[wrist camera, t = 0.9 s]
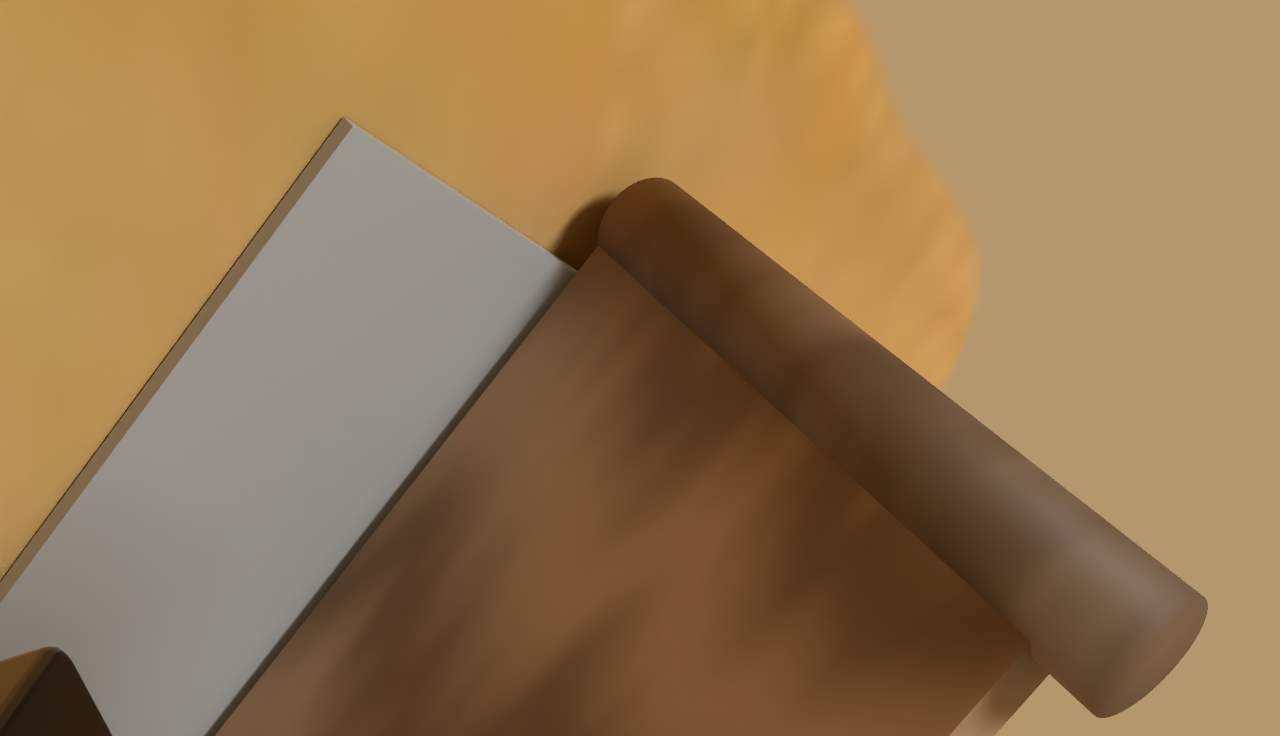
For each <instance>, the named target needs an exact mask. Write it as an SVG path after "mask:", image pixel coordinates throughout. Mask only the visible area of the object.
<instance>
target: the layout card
mask: <svg viewBox="0 0 1280 736" xmlns="http://www.w3.org/2000/svg"><path fill="white" fill-rule="evenodd" d="M577 272H578V270H576V269H574V268H573V267H571V266H570V265H568V264H567V263H565V262H564V261H562V260H561V259H559V258H558V257H556V256H555V255H553V254H552V253H550V252H549V251H547V250H546V249H544V248H543V247H541V246H540V245H538V244H537V243H535V242H533V241H532V240H530V239H529V238H527V237H526V236H524V235H523V234H521V233H520V232H518V231H517V230H515V229H514V228H512V227H511V226H509V225H508V224H506V223H505V222H503V221H502V220H500V219H499V218H497V217H496V216H494V215H492V214H491V213H489V212H488V211H486V210H485V209H483V208H482V207H480V206H479V205H477V204H476V203H474V202H473V201H471V200H470V199H468V198H467V197H465V196H464V195H462V194H461V193H459V192H458V191H456V190H455V189H453V188H451V187H450V186H448V185H447V184H445V183H444V182H442V181H441V180H439V179H438V178H436V177H435V176H433V175H432V174H430V173H429V172H427V171H426V170H424V169H423V168H421V167H420V166H418V165H417V164H415V163H414V162H412V161H410V160H409V159H407V158H406V157H404V156H403V155H401V154H400V153H398V152H397V151H395V150H394V149H392V148H391V147H389V146H388V145H386V144H385V143H383V142H382V141H380V140H379V139H377V138H376V137H374V136H373V135H371V134H369V133H368V132H366V131H365V130H363V129H362V128H360V127H359V126H357V125H356V124H354V123H353V122H351V121H350V120H348V119H347V118H345V117H343V118H342V120H341V121H340V122H339V124H338V125H337V126H336V128H335V129H334V130H333V132H332V133H331V134H330V136H329V137H328V139H327V140H326V141H325V143H324V144H323V145H322V147H321V148H320V149H319V151H318V152H317V153H316V155H315V156H314V158H313V159H312V160H311V162H310V163H309V164H308V166H307V167H306V168H305V170H304V171H303V172H302V174H301V175H300V177H299V178H298V179H297V181H296V182H295V183H294V185H293V186H292V187H291V189H290V190H289V191H288V193H287V194H286V196H285V197H284V198H283V200H282V201H281V202H280V204H279V205H278V206H277V208H276V209H275V210H274V212H273V213H272V215H271V216H270V217H269V219H268V220H267V221H266V223H265V224H264V225H263V227H262V228H261V229H260V231H259V232H258V233H257V235H256V236H255V238H254V239H253V240H252V242H251V243H250V244H249V246H248V247H247V248H246V250H245V251H244V252H243V254H242V255H241V257H240V258H239V259H238V261H237V262H236V263H235V265H234V266H233V267H232V269H231V270H230V271H229V273H228V274H227V276H226V277H225V278H224V280H223V281H222V282H221V284H220V285H219V286H218V288H217V289H216V290H215V292H214V293H213V295H212V296H211V297H210V299H209V300H208V301H207V303H206V304H205V305H204V307H203V308H202V309H201V311H200V312H199V314H198V315H197V316H196V318H195V319H194V320H193V322H192V323H191V324H190V326H189V327H188V328H187V330H186V331H185V333H184V334H183V335H182V337H181V338H180V339H179V341H178V342H177V343H176V345H175V346H174V347H173V349H172V350H171V352H170V353H169V354H168V356H167V357H166V358H165V360H164V361H163V362H162V364H161V365H160V366H159V368H158V369H157V370H156V372H155V373H154V375H153V376H152V377H151V379H150V380H149V381H148V383H147V384H146V385H145V387H144V388H143V389H142V391H141V392H140V394H139V395H138V396H137V398H136V399H135V400H134V402H133V403H132V404H131V406H130V407H129V408H128V410H127V411H126V413H125V414H124V415H123V417H122V418H121V419H120V421H119V422H118V423H117V425H116V426H115V427H114V429H113V430H112V432H111V433H110V434H109V436H108V437H107V438H106V440H105V441H104V442H103V444H102V445H101V446H100V448H99V449H98V451H97V452H96V453H95V455H94V456H93V457H92V459H91V460H90V461H89V463H88V464H87V465H86V467H85V468H84V470H83V471H82V472H81V474H80V475H79V476H78V478H77V479H76V480H75V482H74V483H73V484H72V486H71V487H70V489H69V490H68V491H67V493H66V494H65V495H64V497H63V498H62V499H61V501H60V502H59V503H58V505H57V506H56V507H55V509H54V510H53V512H52V513H51V514H50V516H49V517H48V518H47V520H46V521H45V522H44V524H43V525H42V526H41V528H40V529H39V531H38V532H37V533H36V535H35V536H34V537H33V539H32V540H31V541H30V543H29V544H28V545H27V547H26V548H25V550H24V551H23V552H22V554H21V555H20V556H19V558H18V559H17V560H16V562H15V563H14V564H13V566H12V567H11V569H10V570H9V571H8V573H7V574H6V575H5V577H4V578H3V579H2V581H1V582H0V661H1V660H4V659H7V658H11V657H14V656H17V655H20V654H24V653H27V652H30V651H33V650H37V649H40V648H43V647H51V646H53V647H57V648H59V649H61V650H63V651H64V652H65V653H66V654H67V655H68V656H69V658H70V659H71V660H72V662H73V663H74V665H75V667H76V669H77V671H78V673H79V674H80V676H81V678H82V680H83V682H84V684H85V686H86V687H87V689H88V691H89V693H90V695H91V697H92V699H93V700H94V702H95V704H96V706H97V708H98V710H99V712H100V713H101V715H102V717H103V719H104V721H105V723H106V725H107V726H108V728H109V730H110V732H111V734H112V736H215V735H216V734H217V732H218V731H219V730H220V729H221V727H222V726H223V725H224V723H225V722H226V721H227V720H228V718H229V717H230V716H231V714H232V713H233V712H234V711H235V709H236V708H237V707H238V706H239V704H240V703H241V702H242V700H243V699H244V698H245V697H246V695H247V694H248V693H249V691H250V690H251V689H252V688H253V686H254V685H255V684H256V683H257V681H258V680H259V679H260V677H261V676H262V675H263V674H264V672H265V671H266V670H267V668H268V667H269V666H270V665H271V663H272V662H273V661H274V660H275V658H276V657H277V656H278V654H279V653H280V652H281V651H282V649H283V648H284V647H285V645H286V644H287V643H288V642H289V640H290V639H291V638H292V636H293V635H294V634H295V633H296V631H297V630H298V629H299V628H300V626H301V625H302V624H303V622H304V621H305V620H306V619H307V617H308V616H309V615H310V613H311V612H312V611H313V610H314V608H315V607H316V606H317V605H318V603H319V602H320V601H321V599H322V598H323V597H324V596H325V594H326V593H327V592H328V590H329V589H330V588H331V587H332V585H333V584H334V583H335V582H336V580H337V579H338V578H339V576H340V575H341V574H342V573H343V571H344V570H345V569H346V567H347V566H348V565H349V564H350V562H351V561H352V560H353V559H354V557H355V556H356V555H357V553H358V552H359V551H360V550H361V548H362V547H363V546H364V544H365V543H366V542H367V541H368V539H369V538H370V537H371V535H372V534H373V533H374V532H375V530H376V529H377V528H378V527H379V525H380V524H381V523H382V521H383V520H384V519H385V518H386V516H387V515H388V514H389V512H390V511H391V510H392V509H393V507H394V506H395V505H396V504H397V502H398V501H399V500H400V498H401V497H402V496H403V495H404V493H405V492H406V491H407V489H408V488H409V487H410V486H411V484H412V483H413V482H414V481H415V479H416V478H417V477H418V475H419V474H420V473H421V472H422V470H423V469H424V468H425V466H426V465H427V464H428V463H429V461H430V460H431V459H432V458H433V456H434V455H435V454H436V452H437V451H438V450H439V449H440V447H441V446H442V445H443V443H444V442H445V441H446V440H447V438H448V437H449V436H450V434H451V433H452V432H453V431H454V429H455V428H456V427H457V426H458V424H459V423H460V422H461V420H462V419H463V418H464V417H465V415H466V414H467V413H468V411H469V410H470V409H471V408H472V406H473V405H474V404H475V403H476V401H477V400H478V399H479V397H480V396H481V395H482V394H483V392H484V391H485V390H486V388H487V387H488V386H489V385H490V383H491V382H492V381H493V380H494V378H495V377H496V376H497V374H498V373H499V372H500V371H501V369H502V368H503V367H504V365H505V364H506V363H507V362H508V360H509V359H510V358H511V356H512V355H513V354H514V353H515V351H516V350H517V349H518V348H519V346H520V345H521V344H522V342H523V341H524V340H525V339H526V337H527V336H528V335H529V333H530V332H531V331H532V330H533V328H534V327H535V326H536V325H537V323H538V322H539V321H540V319H541V318H542V317H543V316H544V314H545V313H546V312H547V310H548V309H549V308H550V307H551V305H552V304H553V303H554V302H555V300H556V299H557V298H558V296H559V295H560V294H561V293H562V291H563V290H564V289H565V287H566V286H567V285H568V284H569V282H570V281H571V280H572V279H573V277H574V276H575V275H576V273H577Z"/></svg>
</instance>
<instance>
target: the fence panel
mask: <svg viewBox="0 0 1280 736" xmlns="http://www.w3.org/2000/svg"><path fill="white" fill-rule="evenodd" d="M1207 609H1208V603H1207V600H1206V599H1205V597H1203V596H1202V595H1201V594H1200V593H1198V592H1197V591H1196V590H1195V589H1193V588H1192V587H1191V586H1189V585H1188V584H1187V583H1185V582H1184V581H1183V580H1182V579H1180V578H1179V577H1178V576H1176V575H1175V574H1174V573H1173V572H1171V571H1170V570H1169V569H1167V568H1166V567H1165V566H1164V565H1163V564H1161V563H1160V562H1159V561H1157V560H1156V559H1155V558H1154V557H1152V556H1151V555H1150V554H1148V553H1147V552H1146V551H1145V550H1143V549H1142V548H1141V547H1139V546H1138V545H1137V544H1135V543H1134V542H1133V541H1132V540H1130V539H1129V538H1128V537H1127V536H1125V535H1124V534H1123V533H1121V532H1120V531H1119V530H1118V529H1116V528H1115V527H1114V526H1112V525H1111V524H1110V523H1109V522H1107V521H1106V520H1105V519H1104V518H1102V517H1101V516H1100V515H1099V514H1097V513H1096V512H1095V511H1093V510H1092V509H1091V508H1089V507H1088V506H1087V505H1086V504H1084V503H1083V502H1082V501H1081V500H1079V499H1078V498H1077V497H1075V496H1074V495H1073V494H1072V493H1070V492H1069V491H1068V490H1066V489H1065V488H1064V487H1063V486H1061V485H1060V484H1059V483H1057V482H1056V481H1055V480H1054V479H1052V478H1051V477H1050V476H1049V475H1047V474H1046V473H1045V472H1043V471H1042V470H1041V469H1039V468H1038V467H1037V466H1036V465H1035V464H1033V463H1032V462H1030V461H1029V460H1028V459H1027V458H1026V457H1024V456H1023V455H1022V454H1020V453H1019V452H1018V451H1017V450H1015V449H1014V448H1013V447H1011V446H1010V445H1009V444H1007V443H1006V442H1005V441H1004V440H1002V439H1001V438H1000V437H999V436H997V435H996V434H995V433H993V432H992V431H991V430H990V429H988V428H987V427H986V426H985V425H983V424H982V423H981V422H979V421H978V420H977V419H976V418H974V417H973V416H972V415H970V414H969V413H968V412H966V411H965V410H964V409H963V408H962V407H960V406H959V405H958V404H956V403H955V402H954V401H953V400H951V399H950V398H949V397H947V396H946V395H945V394H944V393H942V392H941V391H940V390H939V389H937V388H936V387H935V386H933V385H932V384H931V383H930V382H928V381H927V380H926V379H924V378H923V377H922V376H921V375H919V374H918V373H917V372H915V371H914V370H913V369H912V368H910V367H909V366H908V365H907V364H905V363H904V362H903V361H901V360H900V359H899V358H898V357H896V356H895V355H894V354H892V353H891V352H890V351H889V350H887V349H886V348H885V347H883V346H882V345H881V344H880V343H878V342H877V341H876V340H875V339H873V338H872V337H871V336H869V335H868V334H867V333H866V332H864V331H863V330H862V329H860V328H859V327H858V326H857V325H855V324H854V323H853V322H851V321H850V320H849V319H848V318H846V317H845V316H844V315H843V314H841V313H840V312H839V311H837V310H836V309H835V308H834V307H832V306H831V305H830V304H828V303H827V302H826V301H825V300H823V299H822V298H821V297H819V296H818V295H817V294H816V293H814V292H813V291H812V290H811V289H809V288H808V287H807V286H805V285H804V284H803V283H802V282H800V281H799V280H798V279H796V278H795V277H794V276H793V275H791V274H790V273H789V272H787V271H786V270H785V269H784V268H782V267H781V266H780V265H778V264H777V263H776V262H775V261H773V260H772V259H771V258H770V257H768V256H767V255H766V254H764V253H763V252H762V251H761V250H759V249H758V248H757V247H755V246H754V245H753V244H752V243H750V242H749V241H748V240H746V239H745V238H744V237H743V236H741V235H740V234H739V233H738V232H736V231H735V230H734V229H732V228H731V227H730V226H729V225H727V224H726V223H725V222H723V221H722V220H721V219H720V218H718V217H717V216H716V215H714V214H713V213H712V212H711V211H709V210H708V209H707V208H706V207H704V206H703V205H702V204H700V203H699V202H698V201H697V200H695V199H694V198H693V197H691V196H690V195H689V194H688V193H686V192H685V191H684V190H682V189H681V188H680V187H679V186H677V185H676V184H675V183H673V182H672V181H669V180H667V179H663V178H649V179H644V180H641V181H638V182H636V183H634V184H632V185H631V186H629V187H627V188H626V189H625V190H623V191H622V192H621V193H620V194H619V195H618V196H617V197H616V198H615V199H614V200H613V201H612V203H611V204H610V205H609V207H608V208H607V210H606V212H605V214H604V216H603V218H602V220H601V223H600V227H599V231H598V247H597V248H596V249H595V250H594V252H593V253H592V254H591V255H590V257H589V258H588V259H587V261H586V262H585V263H584V264H583V266H582V267H581V268H580V270H579V271H578V272H577V273H576V275H575V276H574V277H573V279H572V280H571V281H570V282H569V284H568V285H567V286H566V287H565V289H564V290H563V291H562V293H561V294H560V295H559V296H558V298H557V299H556V300H555V302H554V303H553V304H552V305H551V307H550V308H549V309H548V310H547V312H546V313H545V314H544V316H543V317H542V318H541V319H540V321H539V322H538V323H537V325H536V326H535V327H534V328H533V330H532V331H531V332H530V333H529V335H528V336H527V337H526V339H525V340H524V341H523V342H522V344H521V345H520V346H519V348H518V349H517V350H516V351H515V353H514V354H513V355H512V356H511V358H510V359H509V360H508V362H507V363H506V364H505V365H504V367H503V368H502V369H501V371H500V372H499V373H498V374H497V376H496V377H495V378H494V380H493V381H492V382H491V383H490V385H489V386H488V387H487V388H486V390H485V391H484V392H483V394H482V395H481V396H480V397H479V399H478V400H477V401H476V403H475V404H474V405H473V406H472V408H471V409H470V410H469V411H468V413H467V414H466V415H465V417H464V418H463V419H462V420H461V422H460V423H459V424H458V426H457V427H456V428H455V429H454V431H453V432H452V433H451V434H450V436H449V437H448V438H447V440H446V441H445V442H444V443H443V445H442V446H441V447H440V449H439V450H438V451H437V452H436V454H435V455H434V456H433V458H432V459H431V460H430V461H429V463H428V464H427V465H426V466H425V468H424V469H423V470H422V472H421V473H420V474H419V475H418V477H417V478H416V479H415V481H414V482H413V483H412V484H411V486H410V487H409V488H408V489H407V491H406V492H405V493H404V495H403V496H402V497H401V498H400V500H399V501H398V502H397V504H396V505H395V506H394V507H393V509H392V510H391V511H390V512H389V514H388V515H387V516H386V518H385V519H384V520H383V521H382V523H381V524H380V525H379V527H378V528H377V529H376V530H375V532H374V533H373V534H372V535H371V537H370V538H369V539H368V541H367V542H366V543H365V544H364V546H363V547H362V548H361V550H360V551H359V552H358V553H357V555H356V556H355V557H354V559H353V560H352V561H351V562H350V564H349V565H348V566H347V567H346V569H345V570H344V571H343V573H342V574H341V575H340V576H339V578H338V579H337V580H336V582H335V583H334V584H333V585H332V587H331V588H330V589H329V590H328V592H327V593H326V594H325V596H324V597H323V598H322V599H321V601H320V602H319V603H318V605H317V606H316V607H315V608H314V610H313V611H312V612H311V613H310V615H309V616H308V617H307V619H306V620H305V621H304V622H303V624H302V625H301V626H300V628H299V629H298V630H297V631H296V633H295V634H294V635H293V636H292V638H291V639H290V640H289V642H288V643H287V644H286V645H285V647H284V648H283V649H282V651H281V652H280V653H279V654H278V656H277V657H276V658H275V660H274V661H273V662H272V663H271V665H270V666H269V667H268V668H267V670H266V671H265V672H264V674H263V675H262V676H261V677H260V679H259V680H258V681H257V683H256V684H255V685H254V686H253V688H252V689H251V690H250V691H249V693H248V694H247V695H246V697H245V698H244V699H243V700H242V702H241V703H240V704H239V706H238V707H237V708H236V709H235V711H234V712H233V713H232V714H231V716H230V717H229V718H228V720H227V721H226V722H225V723H224V725H223V726H222V727H221V729H220V730H219V731H218V732H217V734H216V735H215V736H994V735H995V734H996V733H997V732H998V731H999V730H1000V729H1001V728H1002V726H1003V725H1004V724H1005V723H1006V722H1007V721H1008V720H1009V719H1010V717H1011V716H1012V715H1013V714H1014V713H1015V712H1016V711H1017V710H1018V708H1019V707H1020V706H1021V705H1022V704H1023V703H1024V702H1025V701H1026V699H1027V698H1028V697H1029V696H1030V695H1031V694H1032V693H1033V692H1034V690H1035V689H1036V688H1037V687H1038V686H1039V685H1040V684H1041V683H1042V681H1043V680H1044V679H1045V678H1046V677H1047V676H1048V675H1049V674H1050V675H1052V677H1053V678H1054V679H1056V680H1057V681H1058V682H1059V683H1060V684H1061V685H1062V686H1063V687H1064V688H1065V689H1066V690H1067V691H1069V692H1070V693H1071V694H1072V695H1073V696H1074V697H1075V698H1076V699H1077V700H1078V701H1079V702H1081V704H1083V705H1084V706H1085V707H1086V708H1087V709H1088V710H1089V711H1090V712H1091V713H1093V715H1095V716H1096V717H1099V718H1106V717H1110V716H1113V715H1116V714H1118V713H1120V712H1122V711H1124V710H1126V709H1127V708H1129V707H1131V706H1132V705H1134V704H1135V703H1136V702H1138V701H1139V700H1141V699H1142V698H1143V697H1144V696H1146V695H1147V694H1148V693H1149V692H1150V691H1152V690H1153V689H1154V688H1155V687H1156V686H1157V685H1158V684H1159V683H1160V682H1161V681H1162V680H1163V679H1164V678H1165V677H1166V676H1167V675H1168V674H1169V673H1170V672H1171V671H1172V670H1173V668H1174V667H1175V666H1176V665H1177V664H1178V663H1179V661H1180V660H1181V659H1182V658H1183V656H1184V655H1185V654H1186V652H1187V651H1188V650H1189V648H1190V647H1191V645H1192V644H1193V642H1194V641H1195V639H1196V637H1197V636H1198V634H1199V632H1200V629H1201V628H1202V626H1203V623H1204V621H1205V618H1206V615H1207Z"/></svg>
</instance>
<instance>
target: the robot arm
mask: <svg viewBox="0 0 1280 736" xmlns="http://www.w3.org/2000/svg"><path fill="white" fill-rule="evenodd" d="M0 736H112V734H111V732H110V730H109V728H108V726H107V725H106V723H105V721H104V719H103V717H102V715H101V713H100V712H99V710H98V708H97V706H96V704H95V702H94V700H93V699H92V697H91V695H90V693H89V691H88V689H87V687H86V686H85V684H84V682H83V680H82V678H81V676H80V674H79V673H78V671H77V669H76V667H75V665H74V663H73V662H72V660H71V659H70V658H69V656H68V655H67V654H66V653H65V652H64V651H63V650H61V649H59V648H57V647H53V646H51V647H43V648H40V649H37V650H33V651H30V652H27V653H24V654H20V655H17V656H14V657H11V658H7V659H4V660H1V661H0Z"/></svg>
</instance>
